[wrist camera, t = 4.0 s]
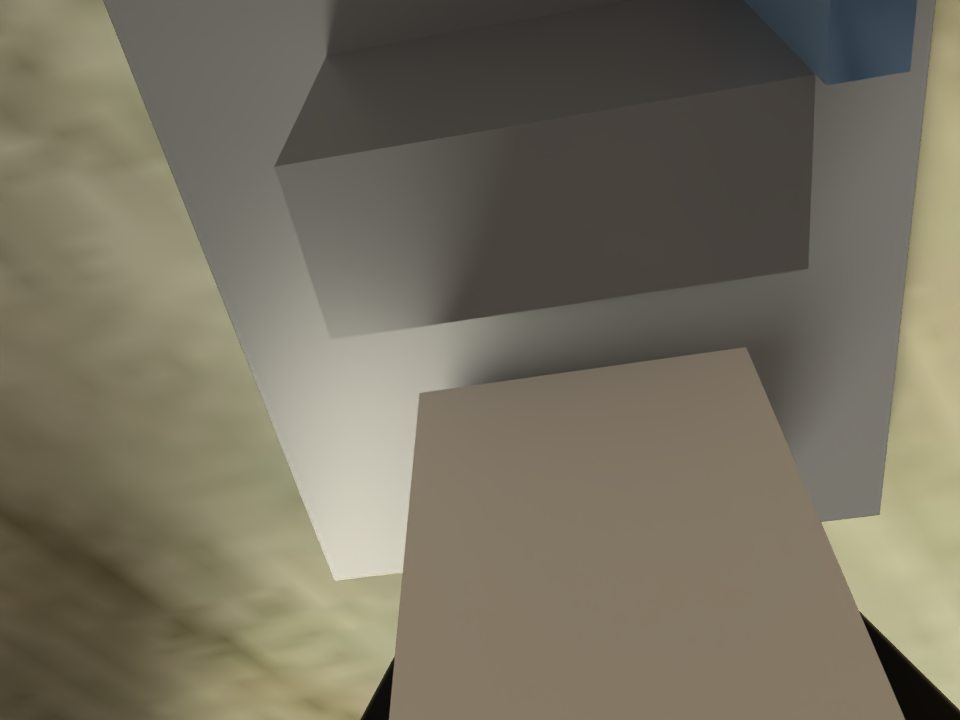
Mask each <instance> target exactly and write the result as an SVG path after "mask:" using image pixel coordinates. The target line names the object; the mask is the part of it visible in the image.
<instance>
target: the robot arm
mask: <svg viewBox="0 0 960 720" xmlns="http://www.w3.org/2000/svg"><path fill="white" fill-rule="evenodd" d="M859 613H860V612H859ZM860 615H861V617H862V620H863V622H864V624H865V627H866V629H867V631H868V634H869V636H870V638H871V641H872V643H873V645H874V648H875V650H876V652H877V655H878V657H879V659H880V662H881V664H882V666H883V669H884V671H885V674H886V676H887V678H888V681H889V683H890V685H891V688H892V690H893V692H894V695H895V697H896V699H897V702H898V704H899V706H900V709H901V711H902V713H903V716H904V718H905V720H960V710H959V709H958V708H957V707H956V706H955V705H954V704H953V703H952V702H951V701H950V700H949V699H948V698H947V697H946V696H945V695H944V694H943V693H942V692H941V691H940V690H939V689H938V688H937V687H936V686H935V685H934V684H933V683H932V682H931V681H930V680H929V679H928V678H927V677H925V676H924V675H923V674H922V673H921V672H920V671H919V670H918V669H917V668H916V667H915V666H914V665H913V664H912V663H911V662H910V661H909V660H908V659H907V658H906V657H905V656H904V655H903V654H902V653H901V652H900V651H899V650H898V649H897V648H896V647H895V646H894V645H893V644H892V643H891V642H890V641H889V640H888V639H887V638H886V637H885V636H884V635H883V634H882V633H881V632H880V631H879V630H878V629H877V628H876V627H875V626H874V625H873V624H872V623H871V622H870V621H869V620H868V619H867V618H866V617H865V616H864V615H863V614H862V613H860ZM394 660H395V657H394V659H393V660H392V662H391V664H390V666H389V667H388V669H387V671H386V673H385V675H384V677H383V679H382V680H381V682H380V684H379V686H378V688H377V690H376V692H375V693H374V695H373V697H372V699H371V701H370V703H369V705H368V706H367V708H366V710H365V712H364V714H363V716H362V718H361V719H360V720H389V713H390V703H391V692H392V681H393V671H394Z"/></svg>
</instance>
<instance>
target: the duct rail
mask: <svg viewBox="0 0 960 720" xmlns="http://www.w3.org/2000/svg"><path fill="white" fill-rule="evenodd" d="M103 1H104V4H105V6H106V9H107V11H108V14H109V16H110V19H111V21H112V24H113V26H114V29H115V31H116V34H117V36H118V39H119V41H120V44H121V46H122V49H123V51H124V54H125V56H126V59H127V61H128V64H129V66H130V69H131V71H132V74H133V76H134V79H135V81H136V84H137V86H138V89H139V91H140V94H141V96H142V99H143V101H144V104H145V106H146V109H147V111H148V114H149V116H150V119H151V121H152V124H153V126H154V129H155V131H156V134H157V136H158V139H159V141H160V144H161V147H162V149H163V152H164V154H165V157H166V159H167V162H168V164H169V167H170V169H171V172H172V174H173V177H174V179H175V182H176V184H177V187H178V189H179V192H180V194H181V197H182V199H183V202H184V204H185V207H186V209H187V212H188V214H189V217H190V219H191V222H192V224H193V227H194V229H195V232H196V234H197V237H198V239H199V242H200V244H201V247H202V249H203V252H204V254H205V257H206V259H207V262H208V264H209V267H210V269H211V272H212V274H213V277H214V279H215V282H216V284H217V287H218V289H219V292H220V294H221V297H222V299H223V302H224V304H225V307H226V310H227V312H228V315H229V317H230V320H231V322H232V325H233V327H234V330H235V332H236V335H237V337H238V340H239V342H240V345H241V347H242V350H243V352H244V355H245V357H246V360H247V362H248V365H249V367H250V370H251V372H252V375H253V377H254V380H255V382H256V385H257V387H258V390H259V392H260V395H261V397H262V400H263V402H264V405H265V407H266V410H267V412H268V415H269V417H270V420H271V422H272V425H273V427H274V430H275V432H276V435H277V437H278V440H279V442H280V445H281V447H282V450H283V452H284V455H285V457H286V460H287V462H288V465H289V467H290V470H291V472H292V475H293V478H294V480H295V483H296V485H297V488H298V490H299V493H300V495H301V498H302V500H303V503H304V505H305V508H306V510H307V513H308V515H309V518H310V520H311V523H312V525H313V528H314V530H315V533H316V535H317V538H318V540H319V543H320V545H321V548H322V550H323V553H324V555H325V558H326V560H327V563H328V565H329V568H330V570H331V573H332V575H333V578H334V580H335V581H337V580H345V579H353V578H361V577H370V576H378V575H386V574H394V573H403V564H404V553H405V543H406V532H407V521H408V511H409V500H410V489H411V479H412V468H413V457H414V446H415V436H416V425H417V414H418V404H419V393H423V392H430V391H437V390H444V389H451V388H458V387H465V386H472V385H480V384H487V383H494V382H501V381H508V380H515V379H522V378H529V377H536V376H544V375H551V374H558V373H565V372H572V371H579V370H586V369H593V368H600V367H608V366H615V365H622V364H629V363H636V362H643V361H650V360H657V359H664V358H672V357H679V356H686V355H693V354H700V353H707V352H714V351H721V350H729V349H736V348H743V347H746V348H747V350H748V353H749V355H750V357H751V360H752V362H753V364H754V367H755V369H756V371H757V374H758V376H759V378H760V381H761V383H762V385H763V388H764V390H765V392H766V395H767V397H768V400H769V402H770V404H771V407H772V409H773V411H774V414H775V416H776V418H777V421H778V423H779V425H780V428H781V430H782V432H783V435H784V437H785V439H786V442H787V444H788V446H789V449H790V451H791V453H792V456H793V458H794V460H795V463H796V465H797V467H798V470H799V472H800V474H801V477H802V479H803V481H804V484H805V486H806V488H807V491H808V493H809V496H810V498H811V500H812V503H813V505H814V507H815V510H816V512H817V514H818V517H819V519H820V521H821V522H824V521H833V520H841V519H849V518H857V517H866V516H874V515H880V506H881V497H882V488H883V479H884V470H885V460H886V451H887V442H888V433H889V424H890V415H891V406H892V397H893V387H894V378H895V369H896V360H897V351H898V342H899V333H900V323H901V314H902V305H903V296H904V287H905V278H906V269H907V260H908V250H909V241H910V232H911V223H912V214H913V205H914V196H915V187H916V177H917V168H918V159H919V150H920V141H921V132H922V123H923V114H924V104H925V95H926V86H927V77H928V68H929V59H930V50H931V41H932V31H933V22H934V13H935V4H936V0H103Z"/></svg>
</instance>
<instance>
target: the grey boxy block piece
mask: <svg viewBox="0 0 960 720" xmlns="http://www.w3.org/2000/svg"><path fill="white" fill-rule="evenodd" d="M389 720H905V718H904V716H903V713H902V711H901V709H900V706H899V704H898V702H897V699H896V697H895V695H894V692H893V690H892V688H891V685H890V683H889V681H888V678H887V676H886V674H885V671H884V669H883V666H882V664H881V662H880V659H879V657H878V655H877V652H876V650H875V648H874V645H873V643H872V641H871V638H870V636H869V634H868V631H867V629H866V627H865V624H864V622H863V620H862V617H861V615H860V613H859V610H858V608H857V606H856V603H855V601H854V599H853V596H852V594H851V592H850V589H849V587H848V585H847V582H846V580H845V577H844V575H843V573H842V570H841V568H840V566H839V563H838V561H837V559H836V556H835V554H834V552H833V549H832V547H831V545H830V542H829V540H828V538H827V535H826V533H825V531H824V528H823V526H822V524H821V521H820V519H819V517H818V514H817V512H816V510H815V507H814V505H813V503H812V500H811V498H810V496H809V493H808V491H807V488H806V486H805V484H804V481H803V479H802V477H801V474H800V472H799V470H798V467H797V465H796V463H795V460H794V458H793V456H792V453H791V451H790V449H789V446H788V444H787V442H786V439H785V437H784V435H783V432H782V430H781V428H780V425H779V423H778V421H777V418H776V416H775V414H774V411H773V409H772V407H771V404H770V402H769V400H768V397H767V395H766V392H765V390H764V388H763V385H762V383H761V381H760V378H759V376H758V374H757V371H756V369H755V367H754V364H753V362H752V360H751V357H750V355H749V353H748V350H747V348H746V347H743V348H736V349H729V350H721V351H714V352H707V353H700V354H693V355H686V356H679V357H672V358H664V359H657V360H650V361H643V362H636V363H629V364H622V365H615V366H608V367H600V368H593V369H586V370H579V371H572V372H565V373H558V374H551V375H544V376H536V377H529V378H522V379H515V380H508V381H501V382H494V383H487V384H480V385H472V386H465V387H458V388H451V389H444V390H437V391H430V392H423V393H419V404H418V414H417V425H416V436H415V446H414V457H413V468H412V479H411V489H410V500H409V511H408V521H407V532H406V543H405V553H404V564H403V575H402V585H401V596H400V607H399V617H398V628H397V639H396V649H395V660H394V671H393V681H392V692H391V703H390V713H389Z"/></svg>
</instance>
